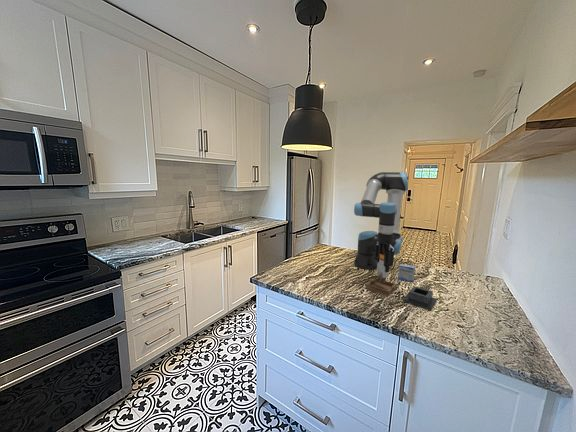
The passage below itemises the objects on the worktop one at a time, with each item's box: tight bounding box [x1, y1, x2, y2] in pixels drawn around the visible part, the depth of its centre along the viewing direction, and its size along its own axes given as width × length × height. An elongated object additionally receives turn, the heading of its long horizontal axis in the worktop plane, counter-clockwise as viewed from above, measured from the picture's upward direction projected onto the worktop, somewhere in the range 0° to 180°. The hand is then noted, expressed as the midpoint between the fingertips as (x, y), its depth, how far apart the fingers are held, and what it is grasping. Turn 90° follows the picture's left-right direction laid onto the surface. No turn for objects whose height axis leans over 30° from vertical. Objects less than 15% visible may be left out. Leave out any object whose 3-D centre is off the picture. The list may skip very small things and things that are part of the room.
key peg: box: [377, 253, 387, 283], centre depth 129 cm, size 4×4×15 cm
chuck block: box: [402, 285, 438, 312], centre depth 118 cm, size 12×12×5 cm
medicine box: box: [397, 263, 416, 283], centre depth 143 cm, size 8×4×9 cm, turn 62°
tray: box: [365, 277, 398, 297], centre depth 131 cm, size 12×12×3 cm
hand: (382, 275), depth 130 cm, fingers closed on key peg, 4 cm apart
